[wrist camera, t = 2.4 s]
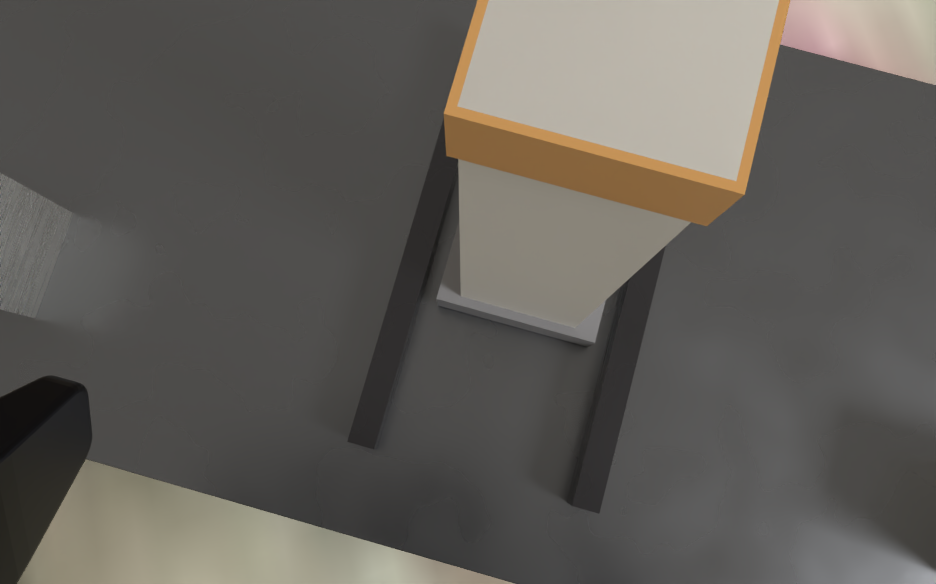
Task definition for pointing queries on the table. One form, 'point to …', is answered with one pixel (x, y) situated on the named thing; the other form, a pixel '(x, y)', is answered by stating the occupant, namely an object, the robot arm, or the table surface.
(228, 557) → the table surface
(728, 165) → the breaker handle
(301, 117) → the breaker panel
